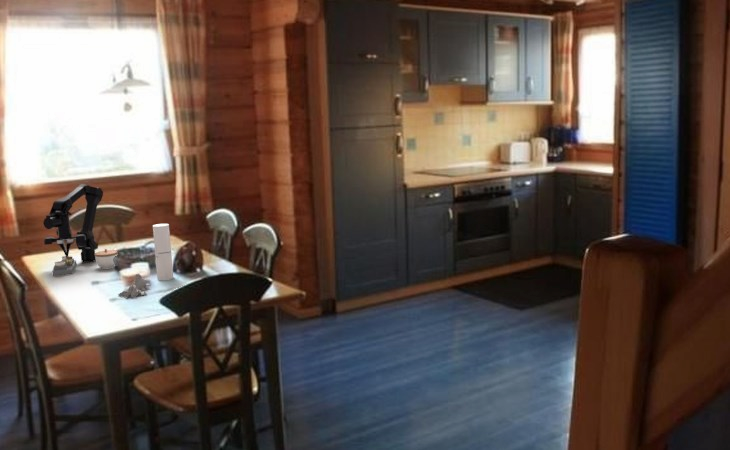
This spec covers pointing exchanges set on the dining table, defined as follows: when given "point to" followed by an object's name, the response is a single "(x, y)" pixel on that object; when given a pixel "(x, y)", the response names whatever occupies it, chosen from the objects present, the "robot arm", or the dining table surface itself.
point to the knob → (60, 263)
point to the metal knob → (69, 261)
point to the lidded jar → (105, 258)
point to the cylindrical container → (163, 251)
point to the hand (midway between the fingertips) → (67, 256)
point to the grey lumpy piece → (136, 288)
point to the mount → (64, 269)
